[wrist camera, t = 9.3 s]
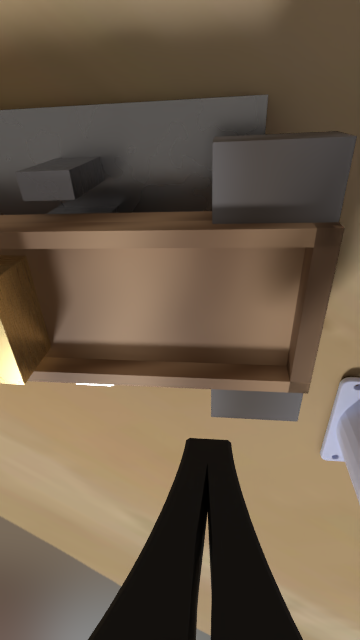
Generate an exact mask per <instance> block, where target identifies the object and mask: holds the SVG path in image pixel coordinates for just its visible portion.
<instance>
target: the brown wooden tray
mask: <svg viewBox="0 0 360 640" xmlns="http://www.w3.org/2000/svg"><path fill="white" fill-rule="evenodd" d="M356 138H357V136H354V135H350V134H346V133H342V132H338V131H332V132H310V133H287V134H265V135H242V136H220V137H214V139H213V159H212V211H193V212H138V213H84V214H29V215H0V255H16V256H26V257H27V261H28V264H29V268H30V271H31V275H32V278H33V282H34V286H35V289H36V293H37V296H38V300H39V303H40V307H41V311H42V314H43V318H44V321H45V325H46V328H47V332H48V336H49V339H50V343H51V346H52V347H51V348H50V349H49V351H48V352H47V354H46V355H45V357H44V358H43V359H42V361H41V362H40V364H39V365H38V366H37V368H36V369H35V371H34V372H33V373H32V375H31V376H30V378H29V379H28V380H27V381H39V382H62V383H84V384H106V385H129V386H151V387H174V388H196V389H211V417H225V418H244V419H262V420H281V421H298V416H299V411H300V406H301V401H302V397H303V393H308V392H309V388H310V383H311V379H312V374H313V369H314V365H315V360H316V356H317V351H318V347H319V342H320V338H321V333H322V329H323V324H324V319H325V315H326V310H327V306H328V301H329V297H330V292H331V288H332V283H333V279H334V274H335V269H336V265H337V260H338V256H339V251H340V247H341V242H342V238H343V233H344V229H345V228H344V227H343V226H342V225H341V224H340V223H339V219H340V215H341V210H342V205H343V200H344V195H345V191H346V186H347V181H348V176H349V172H350V167H351V162H352V157H353V152H354V148H355V143H356Z"/></svg>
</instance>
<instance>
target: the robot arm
mask: <svg viewBox="0 0 360 640" xmlns="http://www.w3.org/2000/svg"><path fill="white" fill-rule="evenodd" d="M357 384H360V378H358V377H347V378H344V379H343V380H341V382H340V384H339V388H338V391H337V395H336V398H335V402H334V405H333V409H332V412H331V416H330V419H329V423H328V426H327V430H326V433H325V437H324V440H323V444H322V448H321V451H320V454H321V458H322V459H324V460H329V461H345V463H346V466H347V469H348V472H349V475H350V478H351V481H352V484H353V486H354V489H355V492H356V495H357V498H358V501H359V504H360V385H358V386H355V385H357ZM207 512H208V529H209V549H210V569H211V589H212V610H211V640H303V639H302V637H301V635H300V633H299V631H298V629H297V627H296V625H295V623H294V621H293V619H292V616H291V614H290V612H289V610H288V608H287V606H286V604H285V601H284V599H283V597H282V595H281V593H280V591H279V588H278V586H277V584H276V582H275V579H274V577H273V575H272V572H271V570H270V568H269V565H268V563H267V561H266V558H265V556H264V553H263V551H262V548H261V546H260V543H259V540H258V538H257V535H256V533H255V530H254V527H253V524H252V522H251V519H250V516H249V513H248V510H247V507H246V504H245V501H244V498H243V495H242V491H241V488H240V485H239V481H238V477H237V473H236V469H235V465H234V460H233V454H232V447H231V442H229V441H228V440H214V439H197V438H189V439H188V440H186V444H185V449H184V452H183V456H182V459H181V463H180V466H179V469H178V471H177V474H176V477H175V480H174V482H173V485H172V487H171V490H170V492H169V494H168V497H167V499H166V502H165V504H164V506H163V509H162V511H161V513H160V515H159V517H158V519H157V521H156V523H155V525H154V528H153V530H152V532H151V534H150V536H149V538H148V540H147V542H146V544H145V546H144V548H143V549H142V551H141V553H140V555H139V557H138V559H137V561H136V562H135V564H134V566H133V568H132V570H131V571H130V573H129V575H128V577H127V578H126V580H125V582H124V583H123V585H122V587H121V588H120V590H119V592H118V593H117V595H116V597H115V598H114V600H113V602H112V603H111V605H110V607H109V608H108V610H107V611H106V613H105V615H104V616H103V618H102V619H101V621H100V622H99V624H98V625H97V627H96V628H95V630H94V631H93V633H92V634H91V636H90V637H89V639H88V640H196V623H197V604H198V592H199V583H200V574H201V565H202V556H203V547H204V539H205V530H206V521H207Z"/></svg>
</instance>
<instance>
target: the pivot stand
mask: <svg viewBox="0 0 360 640" xmlns="http://www.w3.org/2000/svg"><path fill="white" fill-rule="evenodd" d="M267 103H268V95H253V96H236V97H219V98H202V99H185V100H167V101H150V102H133V103H116V104H98V105H81V106H64V107H47V108H30V109H12V110H0V215H29V214H84V213H138V212H193V211H212V159H213V139H214V137H220V136H242V135H265V128H266V116H267ZM76 384H77V385H102V386H114V385H106V384H84V383H76Z"/></svg>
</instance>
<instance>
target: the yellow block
mask: <svg viewBox="0 0 360 640" xmlns="http://www.w3.org/2000/svg"><path fill="white" fill-rule="evenodd" d="M51 347H52V346H51V343H50V339H49V336H48V332H47V328H46V325H45V321H44V318H43V314H42V311H41V307H40V303H39V300H38V296H37V293H36V289H35V286H34V282H33V278H32V275H31V271H30V268H29V264H28V261H27V257H26V256H16V255H0V383H5V384H20V385H25V383H26V382H27V380H28V379H29V378H30V376H31V375H32V373H33V372H34V371H35V369H36V368H37V366H38V365H39V364H40V362H41V361H42V359H43V358H44V357H45V355H46V354H47V352H48V351H49V349H50V348H51Z"/></svg>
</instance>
